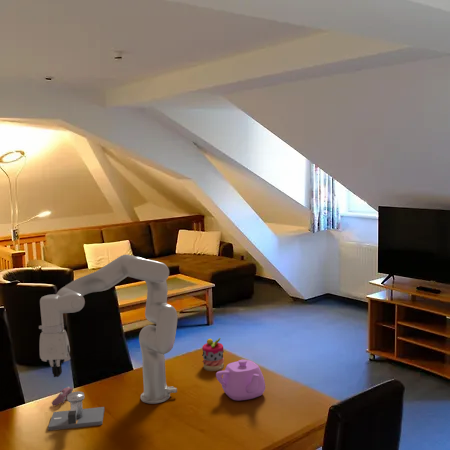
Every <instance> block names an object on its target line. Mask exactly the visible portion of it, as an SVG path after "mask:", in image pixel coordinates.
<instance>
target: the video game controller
mask: <svg viewBox="0 0 450 450" xmlns="http://www.w3.org/2000/svg"><path fill="white" fill-rule="evenodd" d="M73 390H74V388H73V387H71V386H69V385H68V386H67V387H64V388H63V389H62V390H61V391H60V393H59V394H58V395H57V396H56V397H55V399H53V400H52V402H51V405H52V406H53V407H55V406H58V405H59V404H64V403H65V401H68V400H67V396H68V394H70V393H72V392H74V391H73Z"/></svg>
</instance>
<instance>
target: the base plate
mask: <svg viewBox="0 0 450 450" xmlns="http://www.w3.org/2000/svg"><path fill="white" fill-rule="evenodd" d="M82 409H83V416H82V417H80V418H77V421H76V424H68V413H69V411H70V410H61V411H59V410H58V411H53V413H52V416H51V419H50V420H49V424H48V426H47V429H48V431H56V430H65V429H67V430H68V429H75V428H85V427H95V426H103V421H104V414H105V406H99V407H89V408H82Z"/></svg>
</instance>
